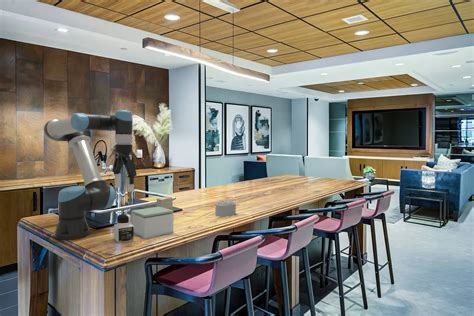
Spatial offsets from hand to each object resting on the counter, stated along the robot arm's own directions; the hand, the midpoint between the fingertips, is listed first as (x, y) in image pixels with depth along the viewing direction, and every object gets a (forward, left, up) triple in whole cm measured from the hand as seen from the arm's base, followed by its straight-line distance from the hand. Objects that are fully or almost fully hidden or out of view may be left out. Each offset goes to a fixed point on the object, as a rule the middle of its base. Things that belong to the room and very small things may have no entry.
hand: (124, 189), depth 158 cm
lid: (+16, +2, -14) cm, 21 cm away
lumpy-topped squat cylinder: (+70, +8, -24) cm, 74 cm away
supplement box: (+34, +20, -24) cm, 46 cm away
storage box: (+16, +2, -24) cm, 29 cm away
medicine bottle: (0, 0, -24) cm, 24 cm away
